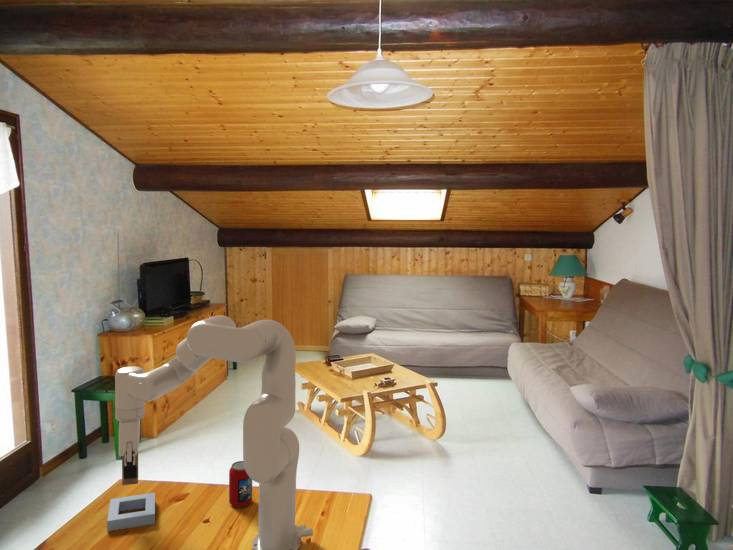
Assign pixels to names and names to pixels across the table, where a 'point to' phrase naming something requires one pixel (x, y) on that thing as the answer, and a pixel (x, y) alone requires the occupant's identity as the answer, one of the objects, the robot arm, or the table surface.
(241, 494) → the beverage can
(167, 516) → the table surface
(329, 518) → the table surface
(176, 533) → the table surface
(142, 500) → the grey square frame
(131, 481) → the walnut peg
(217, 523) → the table surface
